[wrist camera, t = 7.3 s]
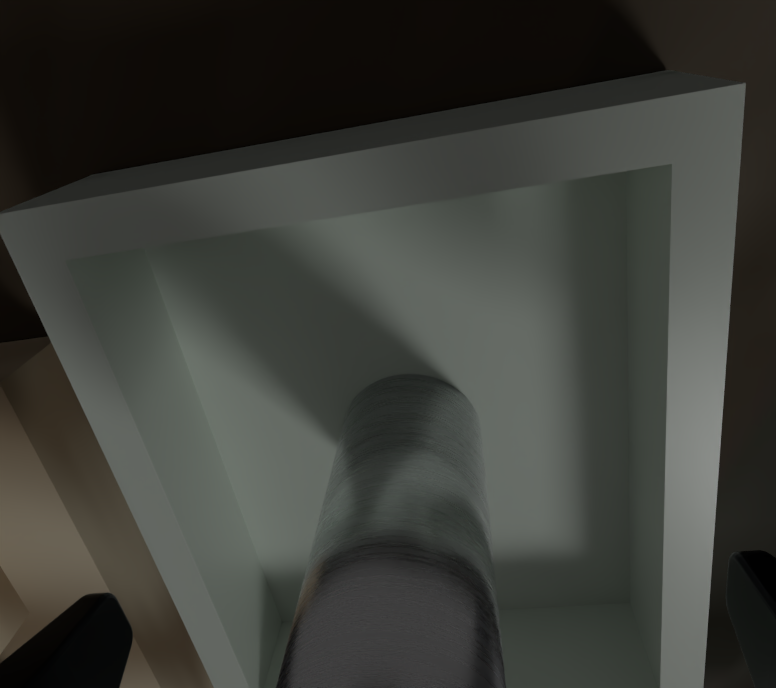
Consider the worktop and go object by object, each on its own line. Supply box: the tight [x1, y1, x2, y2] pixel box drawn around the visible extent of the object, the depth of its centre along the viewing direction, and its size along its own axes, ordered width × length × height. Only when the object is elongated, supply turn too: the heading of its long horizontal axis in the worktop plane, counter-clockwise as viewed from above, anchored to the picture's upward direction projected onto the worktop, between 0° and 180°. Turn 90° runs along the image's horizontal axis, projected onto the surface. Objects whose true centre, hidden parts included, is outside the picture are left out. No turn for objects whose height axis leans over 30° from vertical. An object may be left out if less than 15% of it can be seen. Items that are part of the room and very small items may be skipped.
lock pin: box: [276, 374, 506, 688], centre depth 9 cm, size 4×4×8 cm
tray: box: [0, 70, 746, 688], centre depth 12 cm, size 12×10×3 cm
